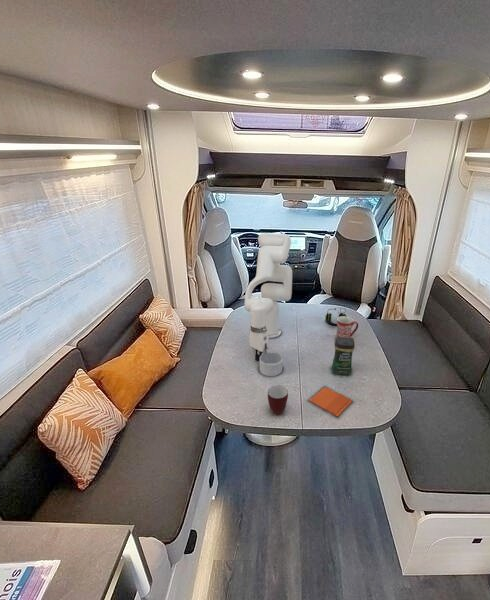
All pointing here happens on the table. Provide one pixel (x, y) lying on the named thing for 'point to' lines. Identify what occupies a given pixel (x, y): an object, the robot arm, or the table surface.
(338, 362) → the coffee jar
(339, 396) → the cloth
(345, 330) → the mug
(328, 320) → the headphones
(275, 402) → the mug
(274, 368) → the pot
